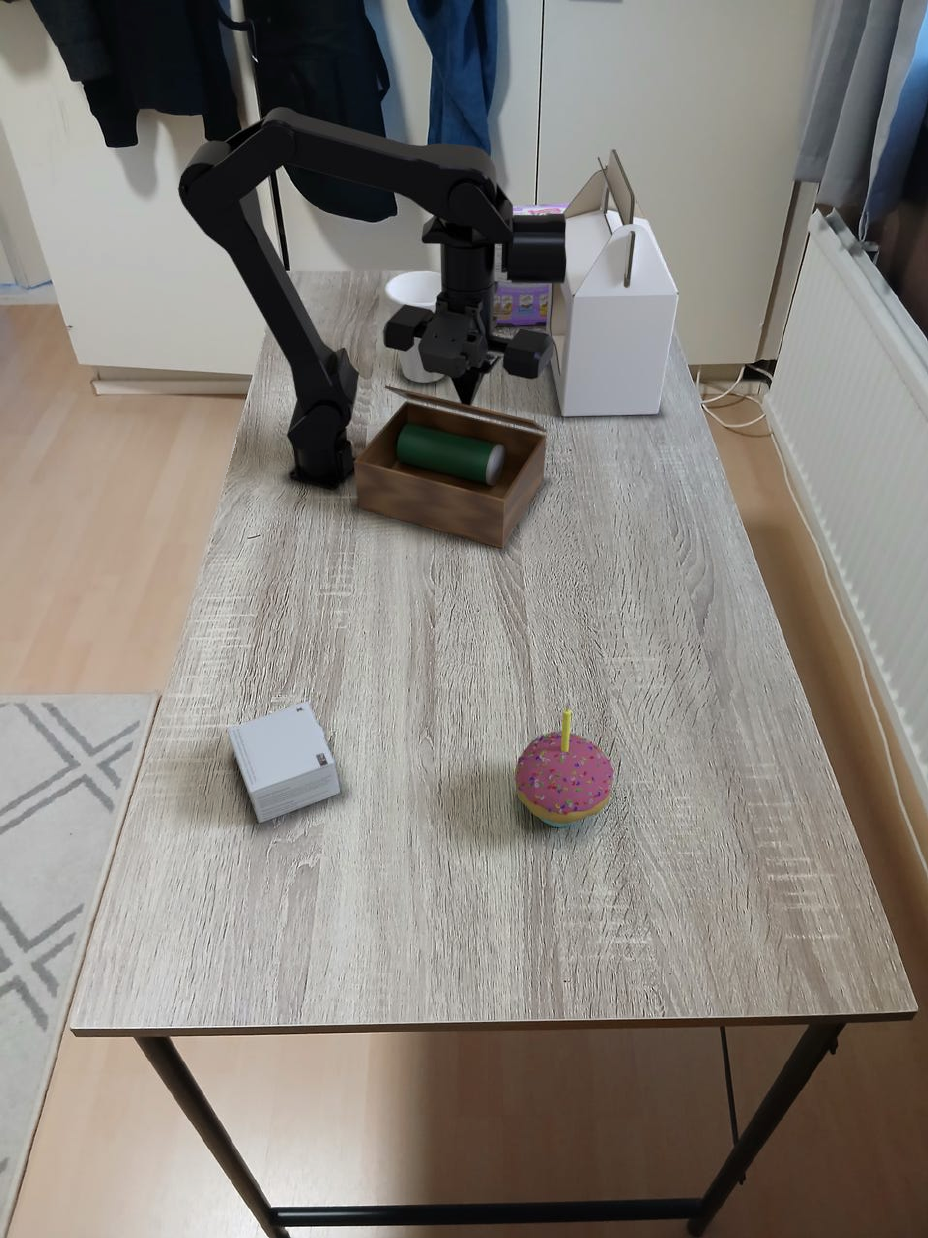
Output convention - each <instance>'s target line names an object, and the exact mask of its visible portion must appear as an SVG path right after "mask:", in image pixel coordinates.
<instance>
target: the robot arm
mask: <svg viewBox="0 0 928 1238" xmlns="http://www.w3.org/2000/svg"><path fill="white" fill-rule="evenodd" d="M285 165H290V166H294V167H296V168H297V167H298V168H301V169H304V170H307V171H308V170H309V171H313V172H316V173H320V174H322V175H323V174H324V175H328V176H331V177H335V178H338V179H341V180H346V181H349V182H352V183H357V184H360V185H364V186H367V187H371V188H375V189H379V190H383V191H387V192H390V193H394V194H397V195H400V196H402V197H404V198H407V199H409V200H410V201H412V202H414V203H415V204H416V205H417V206H418V207H420V208H421V209H422V210H424V211H425V212H427V213H428V214H430V215H433V216H432V217H431V218H430V219H429V220H427V221H426V222H425V223H423V226H422V231H421V239H420V240H421V242H422V244H426V245H427V244H429V245H430V244H431V245H432V244H433V245H439V250H440V251H439V253H440V255H439V256H440V273H441V292H440V293H439V294H438V295H437V296H436V300H437V301H436V309H435V313H434V312H433V311H432V310H430V309H425V308H420V307H416V306H411V305H406V304H404V305H403V306H402V307H401V308H400V309H399V310H398V311H397V312H396V313H395V314H394V315H393V316H392V317H391V316H390V318H389V319H388V320H387V321H386V322H385V324H384V325H383V328H382V329H383V330H382V339H383V341H382V342H383V345H384V347H385V348H387V349H392V350H395V351H398V350H400V351H405V352H407V351H408V350H409V349H410V348H411V347H413V345H414V337H417V338H421V341H420V343H419V345H418V350H419V354H420V357H421V361H422V365H423V369H424V370H425V371H426V372H429V373H433V372H434V373H439V374H443V375H444V376H447V377H449V378H450V380H451V382H452V384H453V387H454V389H455V391H456V394H457V396H458V399H459V402H460V403H462V404H466V405H471V406H473V404H474V401H475V399H476V397H477V394H478V391H479V390H480V387H481V384H482V382H483V379H484V377H485V375H488V374H490V373H491V372H492V371H493V369H494V368H495V367H496V366H497V364H498V363H499V362H500V360H501V359H502V369H504V371H505V372H506V373H507V375H509V376H513V377H517V378H522V379H526V380H535V379H538V378H539V377H540V375H542V373H543V371H544V370H545V368H546V367H547V366H548V364H549V362H551V360H550V359H551V358H552V356H553V348H554V342H553V341H552V339H551V337H550V335H549V334H546V332H541V331H536V330H531V329H526V328H522V327H520V328H519V329H518V331H517V332H516V333H515V334H514V336H513V337H512V338H509V337H508V338H507V337H505V334H504V333H500V332H497V331H494V330H495V328H496V327H498V326H497V317H496V316H494V294H495V293H496V292H497V291H498V282H497V281H494V272H495V244H502V252H501V273H506V272H507V280H511V283H555V284H564V281H565V274H566V262H567V259H566V249H565V231H566V218H565V215H564V214H563V213H553V214H548V215H513V206H514V205H513V203H512V201H511V200H510V198H509V197H508V196H507V194H506V193H505V191H504V190H503V188H502V187H501V185H499V183H498V181H497V177H498V175H497V170H496V165H495V164H494V162H493V160H492V158H491V157H490V154H489V153H487V152H486V151H485V150H484V149H482V148H479V147H477V146H474V145H465V144H453V143H443V142H442V143H434V144H433V143H432V144H425V145H420V144H419V145H417V144H409V143H405V142H401V141H398V140H394V139H390V138H387V137H384V136H380V135H376V134H372V133H369V132H365V131H362V130H357V129H354V128H351V127H347V126H344V125H340V124H336V123H333V122H329V121H326V120H322V119H319V118H315V117H311V116H308V115H304V114H301V113H297V112H296V111H294V110H293V109H291V108H288V107H282V106H279V107H276V108H272V109H271V110H270V111H269V112H267V114H266V116H264V117H263V118H261V119H259V120H258V121H256V122H254V123H252V124H250V125H248V126H246V127H244V128H242V129H241V130H239V131H238V132H236V133H235V134H233V135H231V137H229V138H228V139H226V140H225V141H222V140H221V141H220V140H211V141H206V142H204V143H203V144H201V145H200V146H199V147H198V149H197V150H196V152H195V153H194V154H193V156H192V158H191V159H190V160H189V162H188V164H187V165H186V167H185V169H184V170H183V172H182V174H180V178H179V182H178V187H177V191H178V197H179V199H180V202H181V204H182V206H183V207H184V209H185V210H186V211H187V213H188V214H189V215H190V217H191V218H192V219H193V221H194V222H195V223H196V224H197V226H198V227H199V228H200V230H201V231H202V232H203V234H204V235H205V236H207V237H208V238H209V239H210V240H212V241H213V242H214V243H215V244H217V245H218V246H219V247H221V248H222V249H223V250H225V252H226V253H227V254H228V255H229V257H230V259H231V261H232V263H233V265H234V266H235V268H236V270H237V272H238V273H239V276H240V277H241V279H242V281H243V283H244V285H245V286H246V288H247V290H248V292H249V294H250V296H251V297H252V299H253V301H254V303H255V305H256V306H257V308H258V310H259V312H260V314H261V315H262V317H263V319H264V321H265V322H266V325H267V327H268V328H269V330H270V332H271V333H272V335H273V337H274V340H275V341H276V343H277V344H278V346H279V348H280V350H281V352H282V354H283V355H284V357H285V359H286V361H287V363H288V364H289V367H290V370H291V377H292V382H293V387H294V392H295V398H296V401H295V405H294V408H293V411H292V416H291V419H290V423H289V425H288V430H287V432H286V438H287V439H288V441H289V443H290V445H291V447H292V452H293V461H294V464H295V466H294V467H293V468H292V470H290V472H289V473H288V475H289V476H288V477H289V479H291V480H295V481H299V482H302V483H306V484H309V485H313V486H317V487H320V488H324V489H327V490H335V489H336V488H337V487H338V486H339V484H340V483H341V482H342V481H343V480H344V479H345V478H346V477H347V475H348V474H349V473H350V472H351V471H352V470H353V469H354V461H355V459H356V458H357V457H353V451H352V450H353V449H352V442H351V440H350V439H348V431H347V427H348V426H349V425H350V422H351V420H352V417H353V413H354V412H353V411H354V409H355V408H354V407H355V403H356V398H357V393H358V382H359V377H360V372H359V371H358V370H357V369H355V367H354V366H353V364H352V363H351V361H350V357H349V354H348V351H347V349H346V347H341V348H339V349H337V350H336V351H335V350H333V349H332V348H331V347H329V346H328V345H327V344H325V342H324V341H323V339H322V338H321V336H320V334H319V332H318V330H317V328H316V327H315V324H314V322H313V319H312V318H311V316H310V315H309V312H308V310H307V309H306V307H305V304H304V303H303V300H302V299H301V297H300V295H299V293H298V291H297V289H296V287H295V285H294V283H293V281H292V279H291V277H290V275H289V273H288V271H287V270H286V268H285V266H284V264H283V262H282V260H281V258H280V256H279V254H278V252H277V251H276V248H275V247H274V246H275V245H274V244H273V242H272V240H271V238H270V236H269V234H268V232H267V231H266V228H265V225H264V221H263V215H262V210H261V204H260V198H259V194H258V190H257V189H258V188H257V187H258V186H259V185H261V184H262V183H263V182H264V181H265V180H266V179H268V178H269V177H270V176H271V175H272V174H274V172H276V171H277V170H279V169H280V168H283V166H285Z"/></svg>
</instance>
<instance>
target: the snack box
mask: <svg viewBox="0 0 928 1238" xmlns="http://www.w3.org/2000/svg"><path fill="white" fill-rule="evenodd" d="M408 423H412V424H416V425H420V426H424V427H428V428H432V429H436V430H441V431H445V432H449V433H453V434H457V435H461V436H465V437H470V438H474V439H478V440H482V441H486V442H490V443H494V444H500V445H503V446H504V449H505V458H504V464H503V469H502V472H501V475H500V477H499V479H498V481H497V483H496V484H495V485H494V486H490V485H488V484H484V483H480V482H476V481H472V480H469V479H465V478H461V477H457V476H453V475H449V474H445V473H441V472H437V471H433V470H429V469H425V468H421V467H418V466H414V465H410V464H406V463H402V462H400V461H399V460H398V457H397V444H398V439H399V436H400V433H401V431H402V429H403V427H404V426H405V425H406V424H408ZM547 436H548V435H546V434H543V433H539V432H534V431H530V430H526V429H522V428H518V427H514V426H509V425H506V424H501V423H497V422H494V421H489V420H485V419H481V418H477V417H473V416H469V415H465V414H460V413H456V412H452V411H448V410H445V409H440V408H435V407H431V406H427V405H423V404H419V403H415V402H411V401H407V400H405V401H404V402H403V404H402V405H401V406H400V407H399V408H398V409H397V410H396V412H395V413H394V414H393V415H392V416H391V417H390V419H389V420H388V421H387V422H385V424H384V426H383V427H382V428H381V429H380V430H379V431H378V433H376V434H375V436H374V437H373V438H372V440H370V442H369V443H368V444H367V446H365V448H364V449H363V450H361V452H360V453H359V455H358V456H357V457H355V458H356V459H355V461H354V467H353V469H354V477H355V487H356V495H357V496H356V497H357V504H358V505H357V506H358V509H360V510H365V511H368V512H372V513H375V514H378V515H383V516H385V517H389V518H393V519H397V520H400V521H403V522H408V523H411V524H415V525H417V526H421V527H425V528H428V529H432V530H436V531H439V532H442V533H446V534H450V535H453V536H457V537H460V538H464V539H468V540H472V541H475V542H477V543H481V544H485V545H487V546H488V545H489V546H492V547H496V548H499V549H503V548H504V547H505V544H506V543H507V542H508V540H509V538H510V537H511V535H512V533H513V532H514V530H515V529H516V527H517V526H518V524H519V522H520V521H521V519H522V517H523V516H524V514H525V512H526V510H527V509H528V507H529V505H530V504H531V502H532V501H533V499H534V497H535V496H536V494H537V492H538V490H539V489H540V487H541V486H542V484H543V482H544V476H545V474H544V473H545V461H546V448H547Z"/></svg>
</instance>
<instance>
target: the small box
mask: <svg viewBox="0 0 928 1238" xmlns="http://www.w3.org/2000/svg"><path fill="white" fill-rule="evenodd" d="M227 734H228V738H229V742H230V745H231V748H232V751H233V754H234V757H235V760H236V762H237V765H238V768H239V772H240V774H241V777H242V779H243V783H244V785H245V787H246V791H247V793H248V796H249V799H250V801H251V805H252V807H253V809H254V810H253V811H254V812H255V815H256V816H255V817H256V818H257V821H258V823H259V824H262V823H264V822H267V821H270V820H272V819H275V818H278V817H280V816H283V815H287V814H289V813H291V812H294V811H297V810H299V809H302V808H304V807H307V806H310V805H313V804H315V803H318V802H319V801H322V800H323V801H324V800H326V799H328V798H332V797H334V796H336V795H338V794H340V792H341V789H340V783H339V779H338V778H339V777H338V773H337V769H336V768H337V767H336V764H335V763H336V762H335V760H334V757H333V755H332V753H331V751H330V747H329V746H328V744H327V741H326V738H325V732H324V730H323V728H322V726H320V724H319V722H318V720H317V718H316V715H315V713H314V710H313V709H312V706H311V704H310V701H309V700H307V701H303V702H300V703H297V704H293V705H290V706H287V707H285V708H282V709H279V710H277V711H274V712H271V713H268V714H266V715H262V716H260V717H257V718H253V719H251V720H248V721H245V722H242V723H239V724H237V725H233V726H230V727H228V728H227Z"/></svg>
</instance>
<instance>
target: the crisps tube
mask: <svg viewBox="0 0 928 1238" xmlns="http://www.w3.org/2000/svg"><path fill="white" fill-rule="evenodd" d="M397 457H398V460H399V461H400V462H402V463H406V464H410V465H414V466H418V467H421V468H425V469H429V470H433V471H437V472H441V473H445V474H449V475H453V476H457V477H461V478H465V479H469V480H472V481H476V482H480V483H484V484H488V485H490V486H494V485H495V484H496V483H497V481H498V479H499V477H500V475H501V472H502V469H503V464H504V458H505V449H504V446H503V445H500V444H494V443H490V442H486V441H482V440H478V439H474V438H470V437H465V436H461V435H457V434H453V433H449V432H445V431H441V430H436V429H432V428H428V427H424V426H420V425H416V424H412V423H408V424H406V425H405V426H404V427H403V429H402V431H401V433H400V436H399V439H398V444H397Z"/></svg>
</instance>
